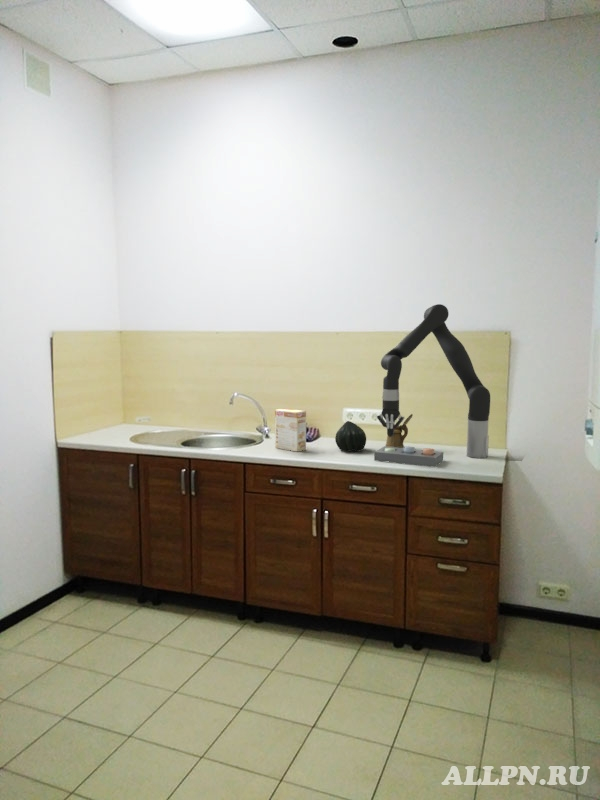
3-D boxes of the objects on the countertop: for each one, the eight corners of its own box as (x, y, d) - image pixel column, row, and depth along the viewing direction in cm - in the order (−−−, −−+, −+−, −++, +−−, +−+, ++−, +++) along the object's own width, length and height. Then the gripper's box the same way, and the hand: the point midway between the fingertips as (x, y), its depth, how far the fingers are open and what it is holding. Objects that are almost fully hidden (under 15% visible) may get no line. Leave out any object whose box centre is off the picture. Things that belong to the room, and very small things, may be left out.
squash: (364, 443, 290) (365, 417, 298) (333, 444, 292) (334, 417, 301) (366, 458, 301) (367, 432, 310) (336, 458, 304) (337, 432, 312)
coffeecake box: (306, 449, 302) (306, 410, 300) (296, 452, 297) (296, 412, 295) (284, 445, 312) (284, 407, 310) (274, 448, 307) (274, 409, 305)
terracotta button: (435, 455, 276) (435, 448, 275) (432, 457, 272) (432, 450, 271) (424, 454, 278) (424, 447, 278) (421, 456, 274) (421, 449, 273)
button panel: (443, 460, 279) (443, 451, 279) (435, 466, 267) (435, 457, 266) (384, 454, 292) (384, 446, 291) (374, 460, 279) (374, 451, 279)
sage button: (396, 455, 284) (396, 448, 284) (393, 457, 280) (393, 450, 279) (386, 454, 286) (386, 447, 286) (383, 456, 282) (383, 449, 281)
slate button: (415, 453, 280) (415, 447, 279) (412, 456, 276) (412, 449, 275) (405, 452, 282) (405, 446, 282) (402, 454, 278) (402, 448, 277)
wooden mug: (409, 451, 298) (409, 415, 296) (382, 449, 304) (383, 413, 302) (414, 448, 306) (415, 412, 303) (388, 445, 312) (389, 410, 310)
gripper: (407, 398, 280) (406, 436, 282) (379, 397, 286) (379, 434, 288) (402, 400, 273) (402, 438, 275) (374, 399, 279) (374, 436, 281)
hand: (390, 436), depth 282 cm, fingers closed
